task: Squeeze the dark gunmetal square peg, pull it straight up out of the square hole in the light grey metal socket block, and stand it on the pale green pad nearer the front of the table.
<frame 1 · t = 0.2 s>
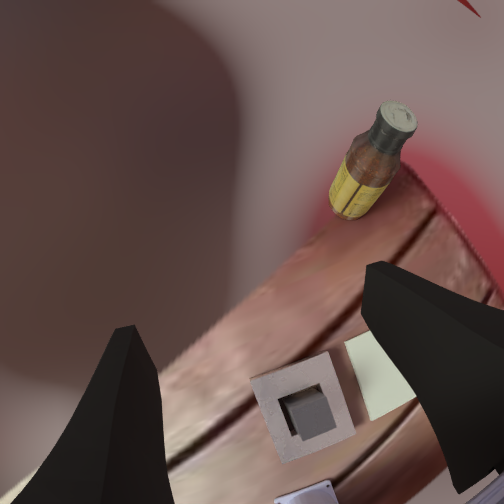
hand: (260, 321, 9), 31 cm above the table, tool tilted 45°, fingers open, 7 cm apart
sauce bottle: (345, 202, 44), on the table
pad: (389, 366, 38), on the table
peg: (302, 406, 36), resting in socket block
socket block: (302, 406, 36), on the table
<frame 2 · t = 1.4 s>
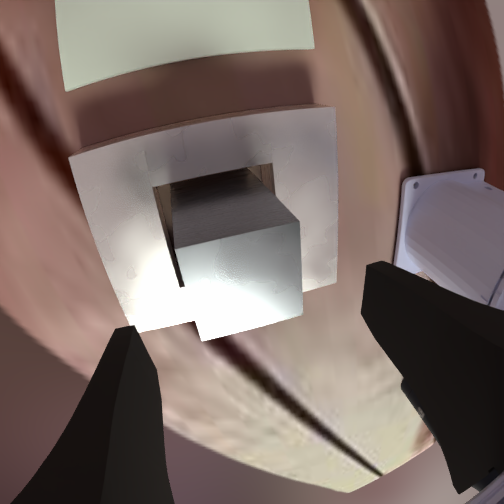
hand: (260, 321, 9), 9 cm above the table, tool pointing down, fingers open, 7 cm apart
peg: (215, 211, 17), resting in socket block
socket block: (215, 211, 17), on the table
pepper grinder: (420, 371, 34), on the table
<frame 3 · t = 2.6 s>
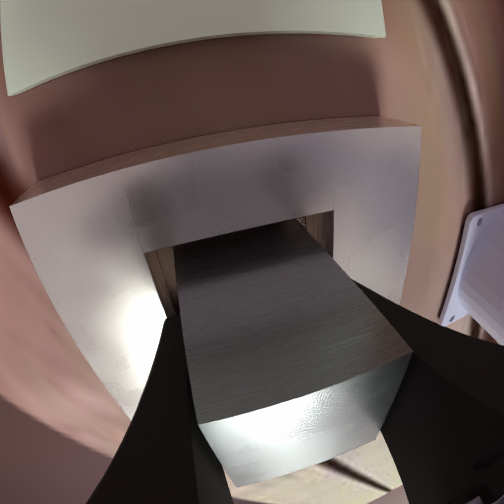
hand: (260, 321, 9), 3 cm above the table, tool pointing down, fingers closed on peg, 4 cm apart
peg: (238, 269, 12), resting in socket block, touching gripper
socket block: (238, 269, 12), on the table
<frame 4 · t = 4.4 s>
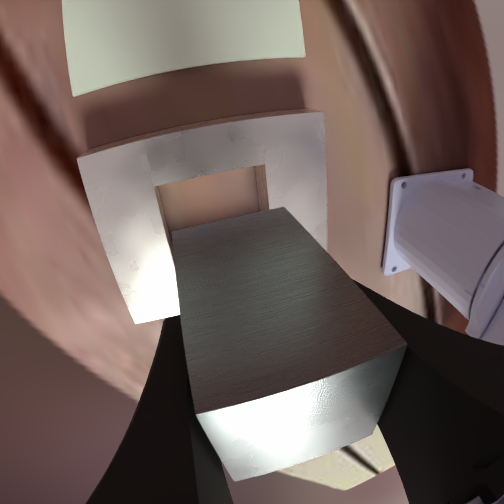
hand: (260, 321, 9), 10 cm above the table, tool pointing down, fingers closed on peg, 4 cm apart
peg: (236, 266, 12), point 7 cm above the table, touching gripper
socket block: (212, 209, 18), on the table
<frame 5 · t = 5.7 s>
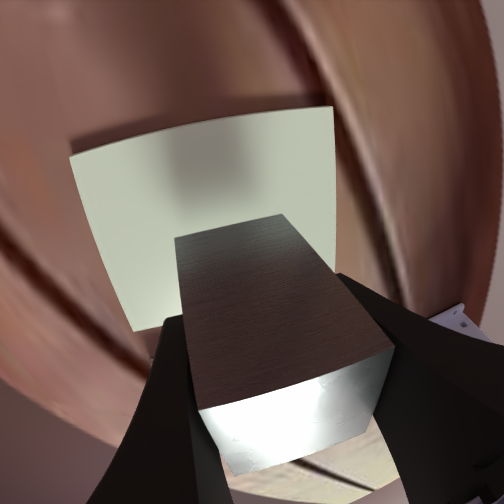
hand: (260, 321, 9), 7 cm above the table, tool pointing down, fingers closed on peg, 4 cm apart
pad: (219, 222, 15), on the table
peg: (236, 271, 12), point 4 cm above the table, touching gripper
when the fingers open (4 cm above the table, at t = 6.6 s): peg stays where it is, resting on pad.
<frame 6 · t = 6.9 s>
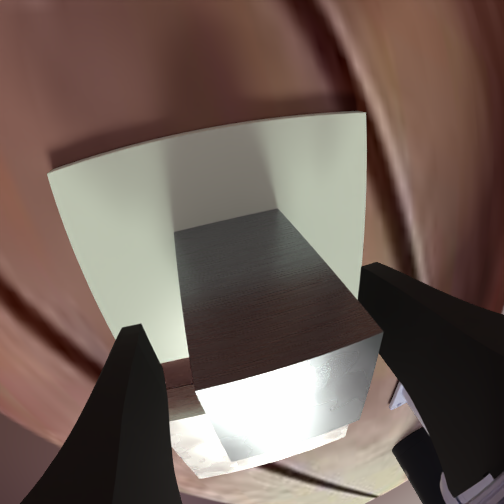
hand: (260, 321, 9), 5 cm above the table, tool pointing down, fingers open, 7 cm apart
pad: (229, 249, 13), on the table
peg: (234, 264, 13), point 1 cm above the table, touching pad
socket block: (260, 411, 20), on the table
pepper grinder: (409, 438, 37), on the table
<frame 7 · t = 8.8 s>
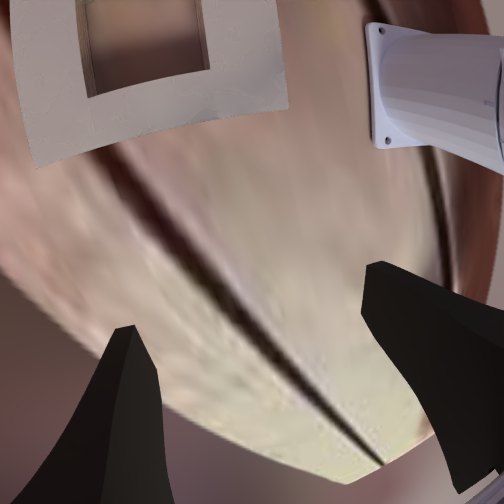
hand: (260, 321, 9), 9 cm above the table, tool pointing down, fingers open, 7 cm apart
socket block: (142, 33, 12), on the table
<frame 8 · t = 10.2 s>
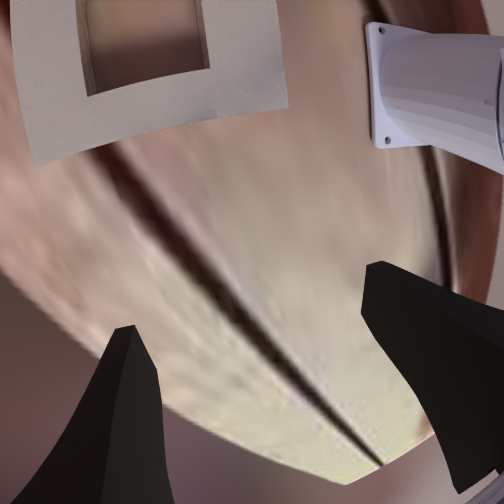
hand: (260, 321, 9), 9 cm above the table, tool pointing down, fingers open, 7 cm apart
socket block: (142, 32, 12), on the table
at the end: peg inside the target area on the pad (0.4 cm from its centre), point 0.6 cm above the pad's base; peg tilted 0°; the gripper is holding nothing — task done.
